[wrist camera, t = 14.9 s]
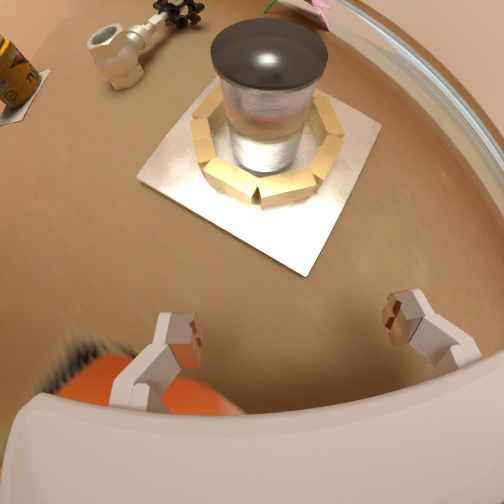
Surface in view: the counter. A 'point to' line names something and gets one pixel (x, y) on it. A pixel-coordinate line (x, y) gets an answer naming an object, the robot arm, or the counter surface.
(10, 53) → the condiment
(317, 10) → the lily
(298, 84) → the black-capped jar
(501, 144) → the counter surface
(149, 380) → the robot arm
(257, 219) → the flange
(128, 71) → the valve
